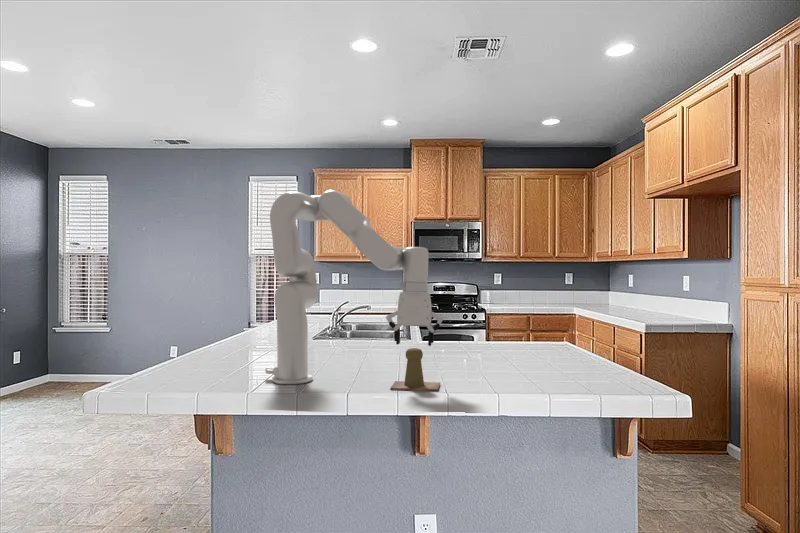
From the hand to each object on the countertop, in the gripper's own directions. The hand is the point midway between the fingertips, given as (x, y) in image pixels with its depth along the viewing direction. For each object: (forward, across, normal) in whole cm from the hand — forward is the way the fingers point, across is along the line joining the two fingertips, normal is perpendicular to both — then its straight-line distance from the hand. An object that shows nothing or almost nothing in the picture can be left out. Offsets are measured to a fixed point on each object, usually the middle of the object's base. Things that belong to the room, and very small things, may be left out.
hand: (413, 344), depth 160 cm
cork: (+12, 0, 0) cm, 12 cm away
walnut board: (+13, +1, 0) cm, 13 cm away
